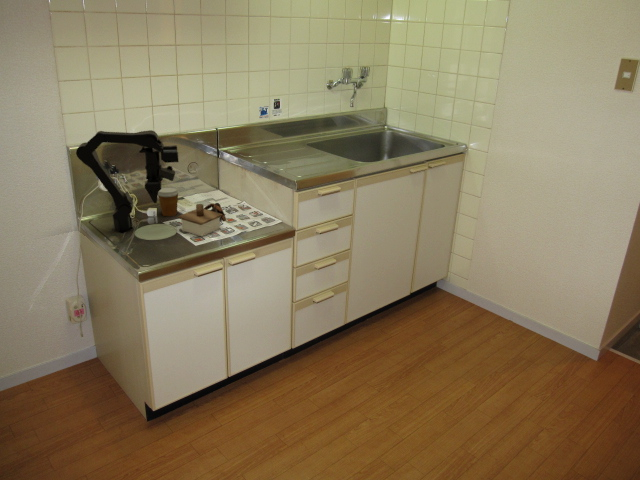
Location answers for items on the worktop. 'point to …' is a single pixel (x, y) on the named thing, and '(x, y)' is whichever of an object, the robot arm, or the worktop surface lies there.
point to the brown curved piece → (216, 209)
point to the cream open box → (200, 227)
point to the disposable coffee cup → (168, 200)
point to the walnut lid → (200, 215)
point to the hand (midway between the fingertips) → (155, 199)
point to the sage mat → (155, 231)
